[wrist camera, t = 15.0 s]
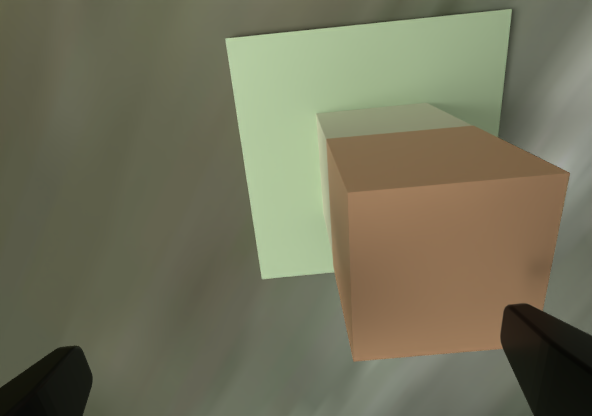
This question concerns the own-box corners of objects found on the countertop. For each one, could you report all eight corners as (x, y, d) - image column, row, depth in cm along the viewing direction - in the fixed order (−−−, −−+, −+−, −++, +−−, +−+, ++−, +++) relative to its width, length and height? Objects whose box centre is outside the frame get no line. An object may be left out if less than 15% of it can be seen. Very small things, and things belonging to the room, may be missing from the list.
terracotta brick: (473, 125, 14) (570, 173, 9) (461, 253, 16) (535, 346, 11) (326, 138, 14) (347, 192, 9) (333, 265, 16) (353, 361, 11)
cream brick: (426, 102, 18) (474, 126, 14) (422, 203, 20) (463, 254, 16) (316, 113, 18) (326, 140, 14) (323, 213, 20) (334, 266, 16)
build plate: (478, 250, 22) (484, 257, 22) (262, 271, 22) (262, 279, 22) (502, 9, 18) (511, 8, 17) (227, 38, 18) (225, 38, 17)
